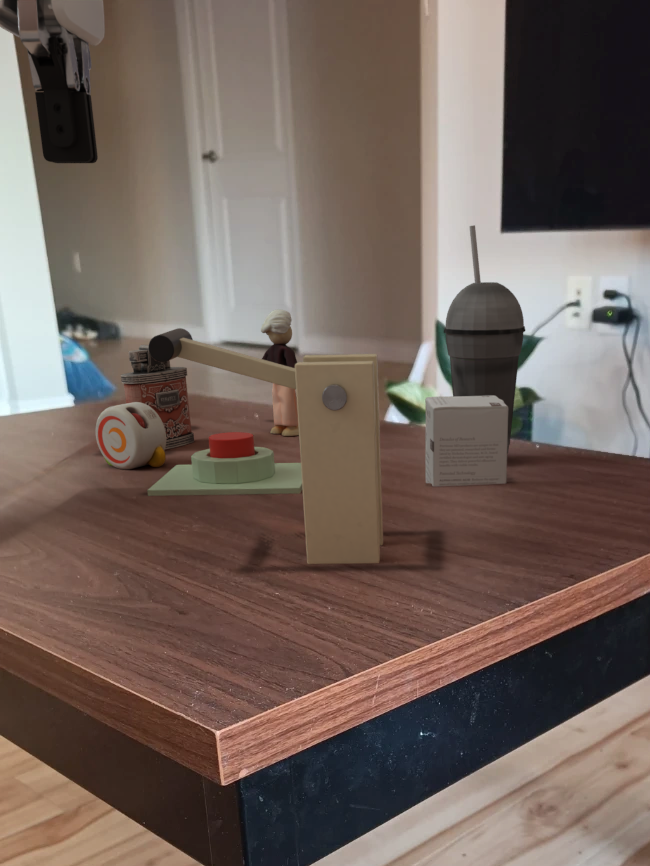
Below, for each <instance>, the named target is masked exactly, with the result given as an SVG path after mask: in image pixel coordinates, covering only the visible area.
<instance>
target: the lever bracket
mask: <svg viewBox="0 0 650 866" xmlns="http://www.w3.org/2000/svg"><path fill="white" fill-rule="evenodd" d="M378 363H379V361H378V354H377V353H352V354H350V353H349V354H348V353H347V354H346V353H345V354H344V353H343V354H305V355H304V356H303V357H302V362H301V361H299V362H298V361H297V363H296V364H295V379H296V389H295V391H296V396H297V410H298V426H299V435H298V439H299V440H298V441H299V456H300V463H301V473H302V502H303V518H304V519H303V520H304V534H305V550H306V551H305V553H306V564H307V565H355V564H356V565H357V564H358V565H359V564H360V565H361V564H363V565H364V564H365V565H366V564H367V565H368V564H369V565H370V564H380V560H381V547H382V546H383V545H384V522H383V521H384V520H383V519H384V518H383V491H382V490H383V489H382V488H383V487H382V463H381V462H382V459H381V458H382V457H381V454H382V453H381V427H380V426H381V425H380V424H381V423H380V421H381V420H380V399H379V398H380V395H379V394H380V393H379V392H380V391H379V364H378Z"/></svg>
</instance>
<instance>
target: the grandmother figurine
mask: <svg viewBox="0 0 650 866" xmlns="http://www.w3.org/2000/svg"><path fill="white" fill-rule="evenodd" d="M292 321H293V319H292V315H291V313H290V312H289V311H288V310H284V309H279V308H278V309H274V310H272V311H270V313H268V315H266V317H265V319H264V321H263V323H262V324H261V327H260V332H261V333H262V334H266V335H267V337H268V339H269V340H270V342H271V343H272V345H271V346H269V347H268V349H266V351H265V352H264V354H263V356H262V357H261V359H263V360H266V361H270V362H274V363H277V364H281V365H284V366H288V367H292V368H295V364H296V363H298V360H297V356H296V352H295V351H294V349H292V348H290V347H289V346H288V344H289V343H290V341H292V338H293V329H292V326H291V325H292ZM271 395H272V411H273V413H272V414H273V425H274V426H273V427H272V428H271V430H270V434H272V435H280V434H281V436H282V437H294V436H295V437H296V436H298V437H299V426H298V410H297V395H296V389H292V388H289V387H285V386H281V385H278V384H274V383H272V391H271Z"/></svg>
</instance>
